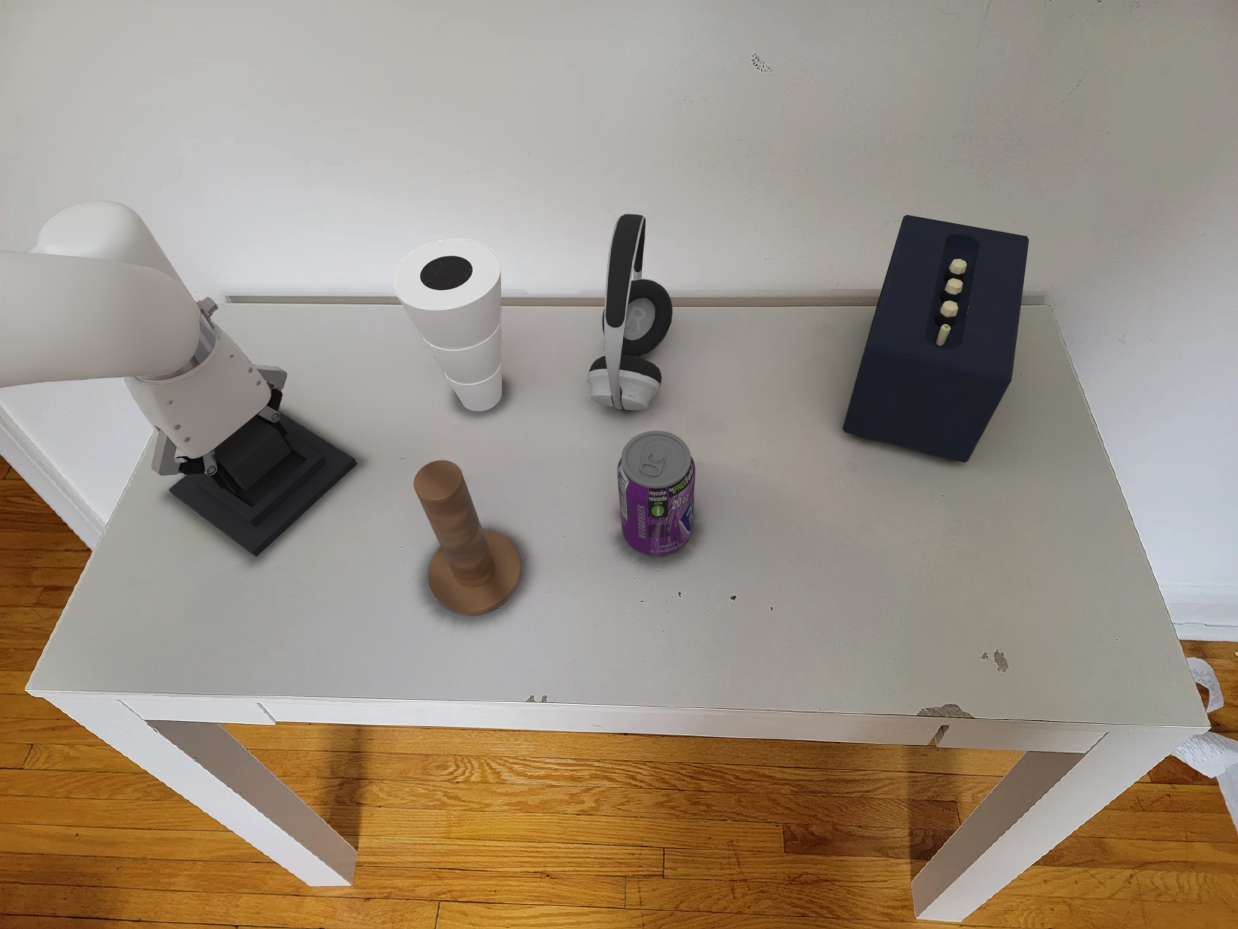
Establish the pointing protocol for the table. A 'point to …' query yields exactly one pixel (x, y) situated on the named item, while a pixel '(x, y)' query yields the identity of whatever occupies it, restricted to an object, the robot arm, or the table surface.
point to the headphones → (629, 323)
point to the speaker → (940, 338)
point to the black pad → (251, 452)
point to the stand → (464, 546)
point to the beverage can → (656, 492)
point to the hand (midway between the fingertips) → (254, 463)
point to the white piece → (457, 313)
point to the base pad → (269, 490)
